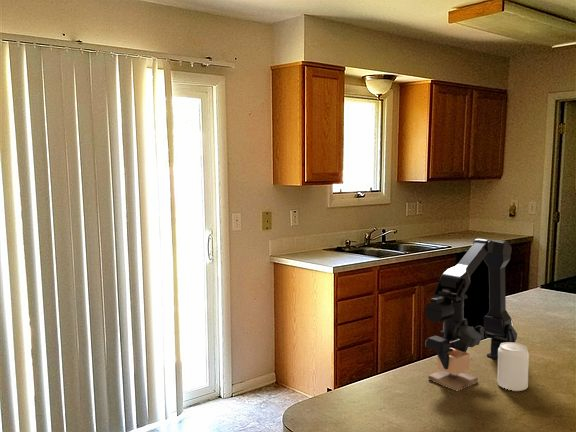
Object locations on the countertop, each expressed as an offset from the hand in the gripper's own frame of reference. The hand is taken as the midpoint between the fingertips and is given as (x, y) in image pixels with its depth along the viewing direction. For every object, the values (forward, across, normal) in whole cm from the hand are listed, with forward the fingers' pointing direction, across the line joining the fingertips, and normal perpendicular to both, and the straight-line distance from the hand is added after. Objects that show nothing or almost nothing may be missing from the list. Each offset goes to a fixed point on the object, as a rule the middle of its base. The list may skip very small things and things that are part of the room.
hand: (453, 366), depth 154 cm
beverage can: (+5, +10, -13) cm, 17 cm away
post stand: (+5, 0, 0) cm, 5 cm away
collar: (+1, 0, 0) cm, 1 cm away
